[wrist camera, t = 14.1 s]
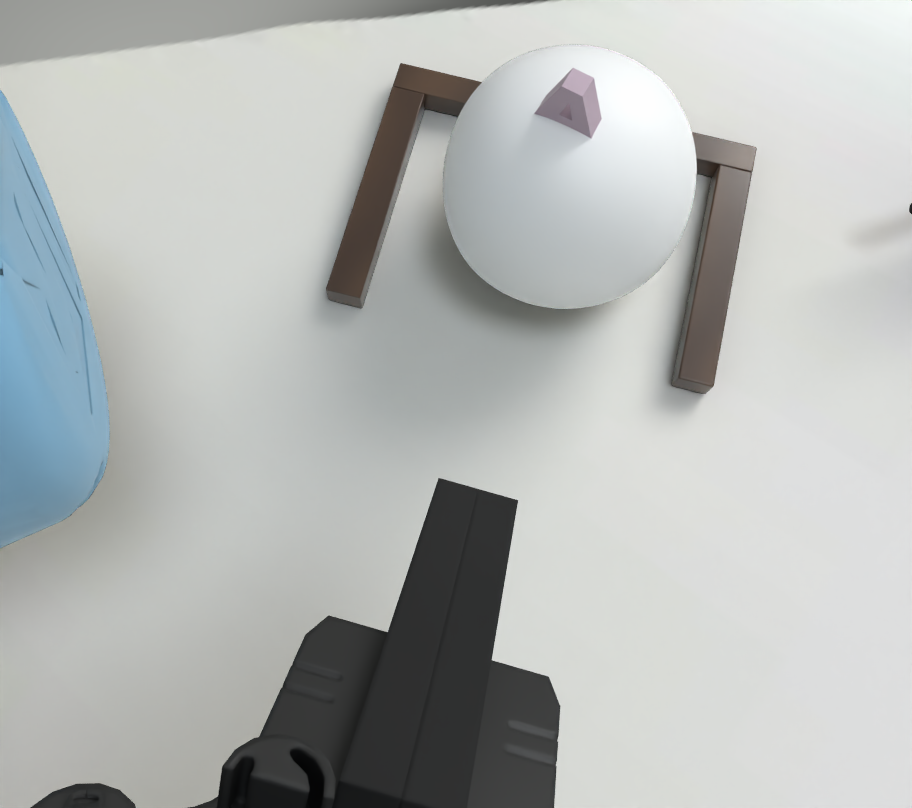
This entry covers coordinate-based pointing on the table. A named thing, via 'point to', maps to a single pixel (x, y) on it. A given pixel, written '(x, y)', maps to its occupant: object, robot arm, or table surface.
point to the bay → (449, 96)
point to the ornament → (569, 176)
